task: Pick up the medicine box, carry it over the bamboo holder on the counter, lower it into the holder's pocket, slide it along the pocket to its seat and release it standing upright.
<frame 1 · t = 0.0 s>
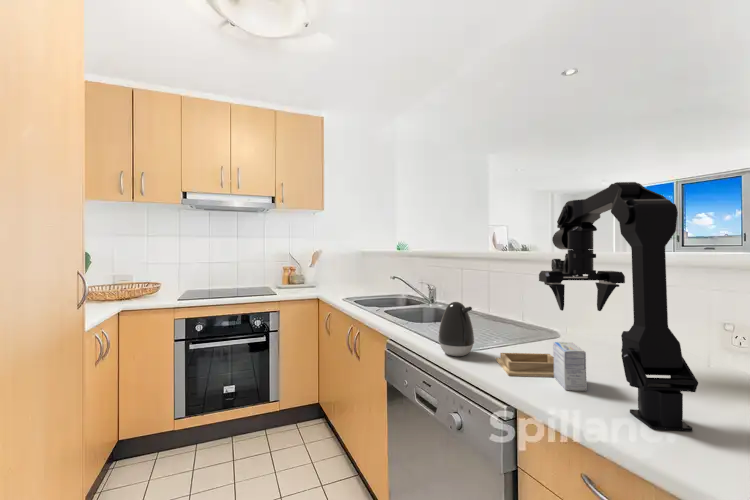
hand: (580, 310, 91), 15 cm above the table, tool pointing down, fingers open, 9 cm apart
medicine box: (569, 385, 80), on the table
holder: (530, 368, 90), on the table
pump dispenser: (456, 354, 103), on the table
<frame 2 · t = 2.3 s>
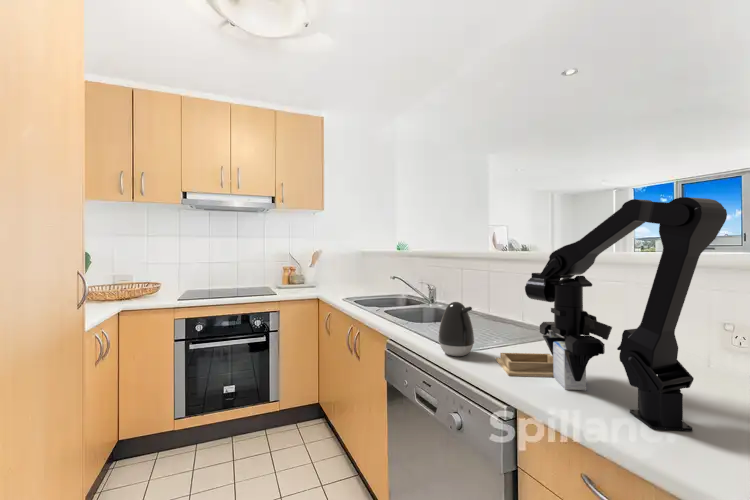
hand: (568, 374, 80), 2 cm above the table, tool pointing down, fingers closed on medicine box, 8 cm apart
medicine box: (568, 384, 80), on the table, touching gripper
everything else where it was.
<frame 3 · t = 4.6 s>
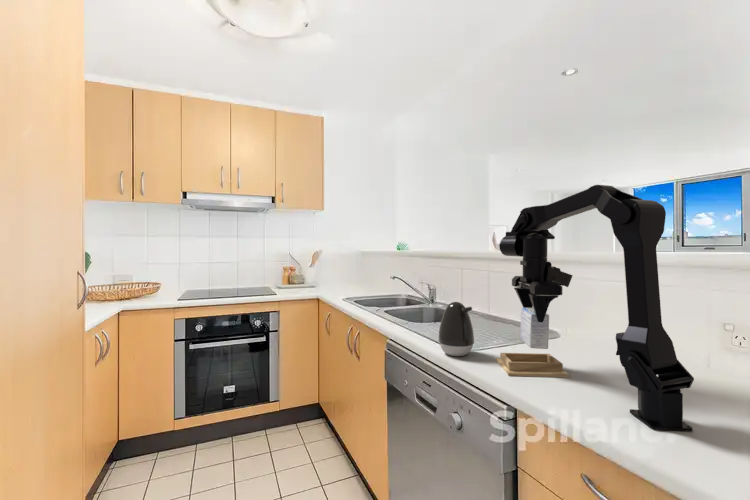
hand: (534, 318, 90), 13 cm above the table, tool pointing down, fingers closed on medicine box, 8 cm apart
medicine box: (533, 344, 90), point 6 cm above the table, touching gripper
everything else where it was.
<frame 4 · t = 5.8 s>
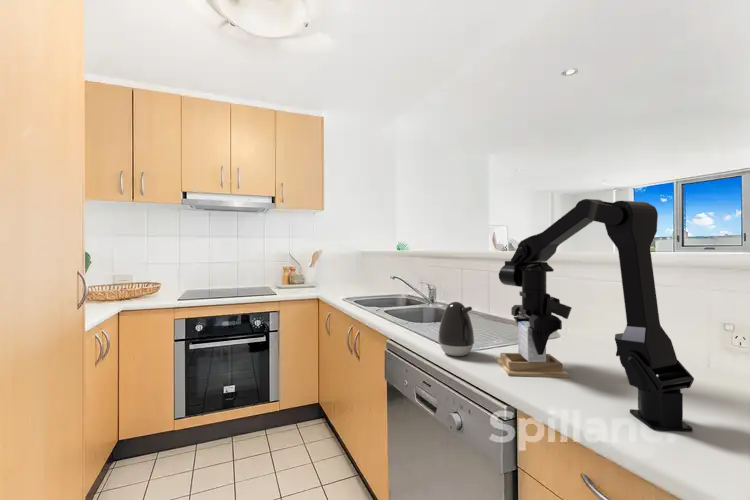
hand: (534, 349, 90), 5 cm above the table, tool pointing down
medicine box: (531, 358, 90), point 2 cm above the table, touching gripper, holder
everything else where it was.
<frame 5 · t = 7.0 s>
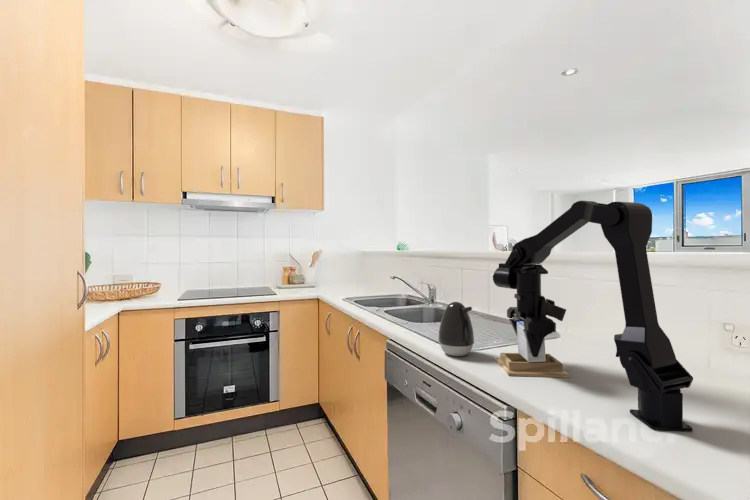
hand: (529, 352, 90), 4 cm above the table, tool pointing down, fingers closed on medicine box, 8 cm apart
medicine box: (531, 358, 90), point 2 cm above the table, touching gripper, holder
everything else where it was.
when the fingers open (4 cm above the table, at t = 7.4 s): medicine box stays where it is, resting on holder.
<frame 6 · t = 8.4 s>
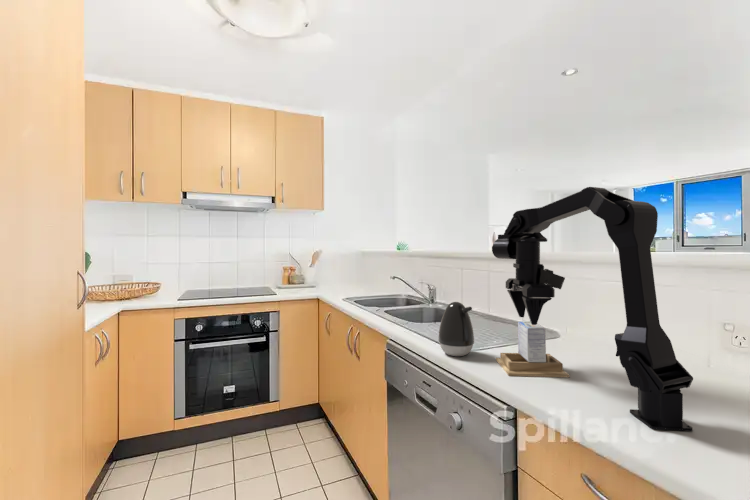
hand: (527, 320, 91), 12 cm above the table, tool pointing down, fingers open, 9 cm apart
medicine box: (531, 358, 90), point 2 cm above the table, touching holder
everything else where it was.
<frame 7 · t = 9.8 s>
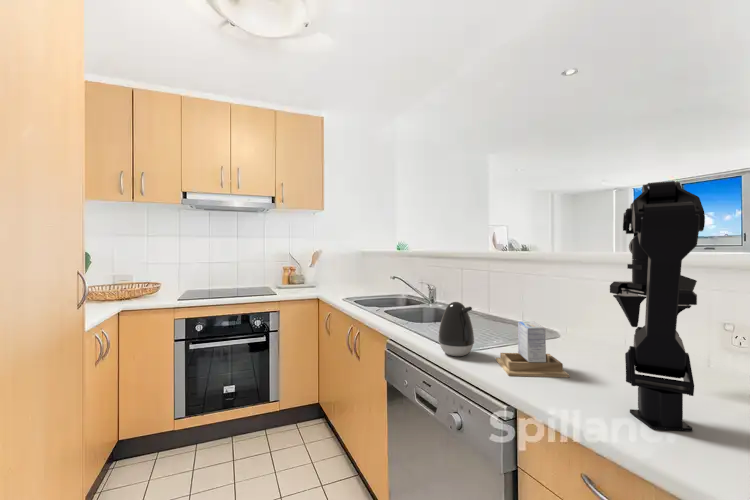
hand: (648, 331, 77), 12 cm above the table, tool pointing down, fingers open, 9 cm apart
nothing on the table moved.
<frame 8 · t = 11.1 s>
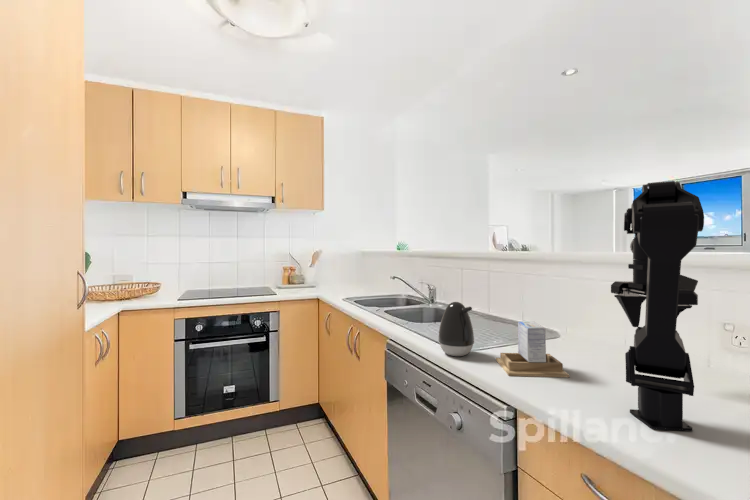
hand: (649, 331, 77), 13 cm above the table, tool pointing down, fingers open, 9 cm apart
nothing on the table moved.
at the end: medicine box inside the target area on the holder (0.3 cm from its centre), point 2.4 cm above the holder's base; medicine box tilted 0°; the gripper is holding nothing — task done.
